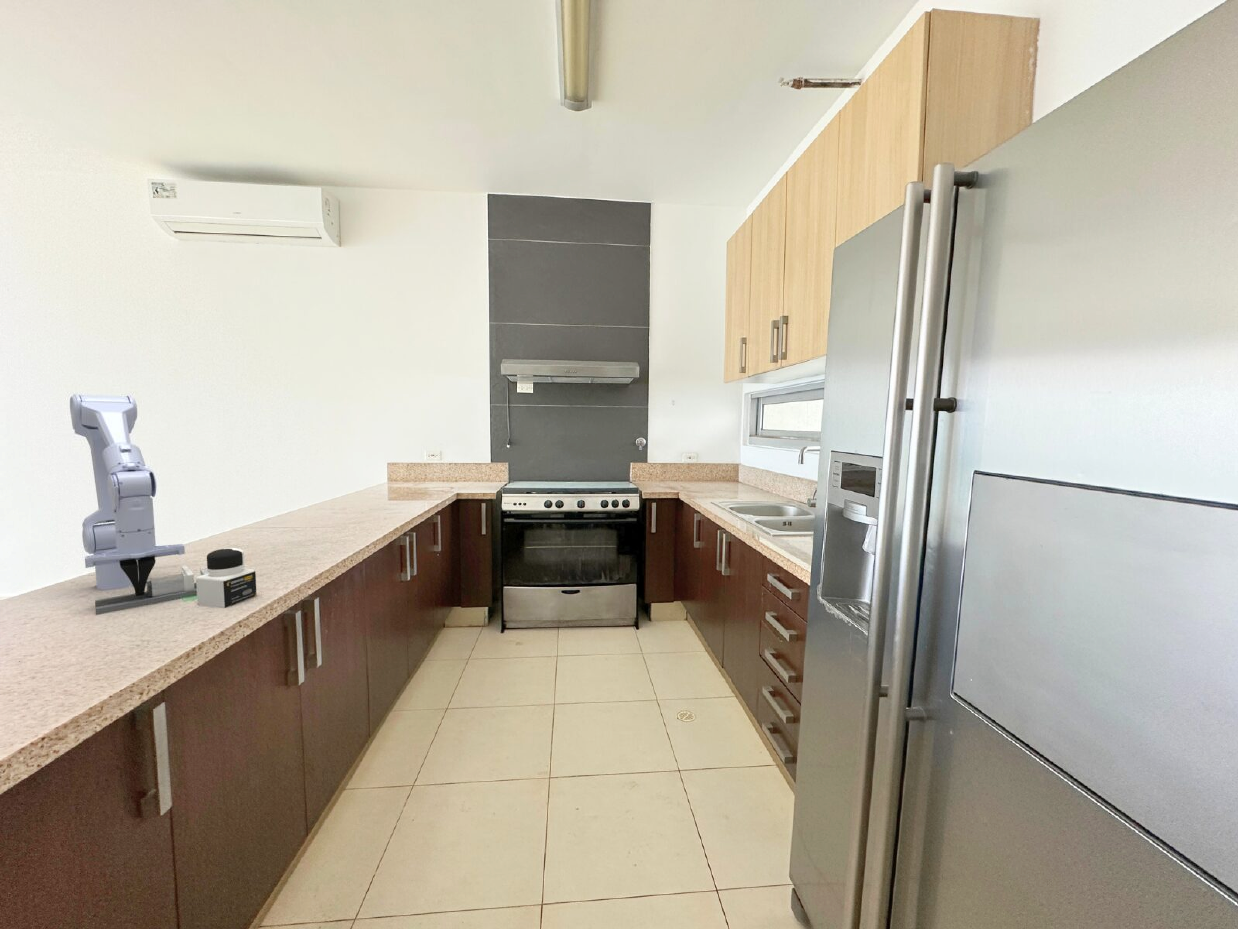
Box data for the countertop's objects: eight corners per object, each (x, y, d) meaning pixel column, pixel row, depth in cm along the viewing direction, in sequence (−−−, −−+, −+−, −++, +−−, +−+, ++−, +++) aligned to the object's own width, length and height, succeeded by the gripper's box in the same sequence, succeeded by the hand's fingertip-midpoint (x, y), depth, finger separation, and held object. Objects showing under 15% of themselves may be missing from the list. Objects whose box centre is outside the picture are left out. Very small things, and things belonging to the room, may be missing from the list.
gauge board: (95, 608, 102) (93, 583, 101) (208, 587, 115) (206, 565, 114) (96, 625, 93) (94, 598, 93) (217, 601, 107) (216, 577, 106)
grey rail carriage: (147, 597, 104) (146, 579, 104) (182, 591, 108) (181, 573, 108) (149, 602, 102) (147, 583, 101) (184, 596, 106) (183, 577, 105)
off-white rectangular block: (180, 588, 110) (179, 566, 110) (190, 587, 111) (189, 565, 111) (186, 599, 104) (185, 575, 104) (196, 597, 105) (195, 574, 105)
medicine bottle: (225, 614, 100) (222, 556, 99) (197, 610, 101) (193, 553, 100) (257, 601, 107) (255, 547, 106) (230, 598, 108) (227, 545, 107)
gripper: (82, 538, 93) (88, 608, 94) (185, 527, 103) (189, 590, 105) (82, 532, 97) (88, 599, 99) (180, 522, 108) (184, 582, 109)
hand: (139, 594), depth 102 cm, fingers closed
